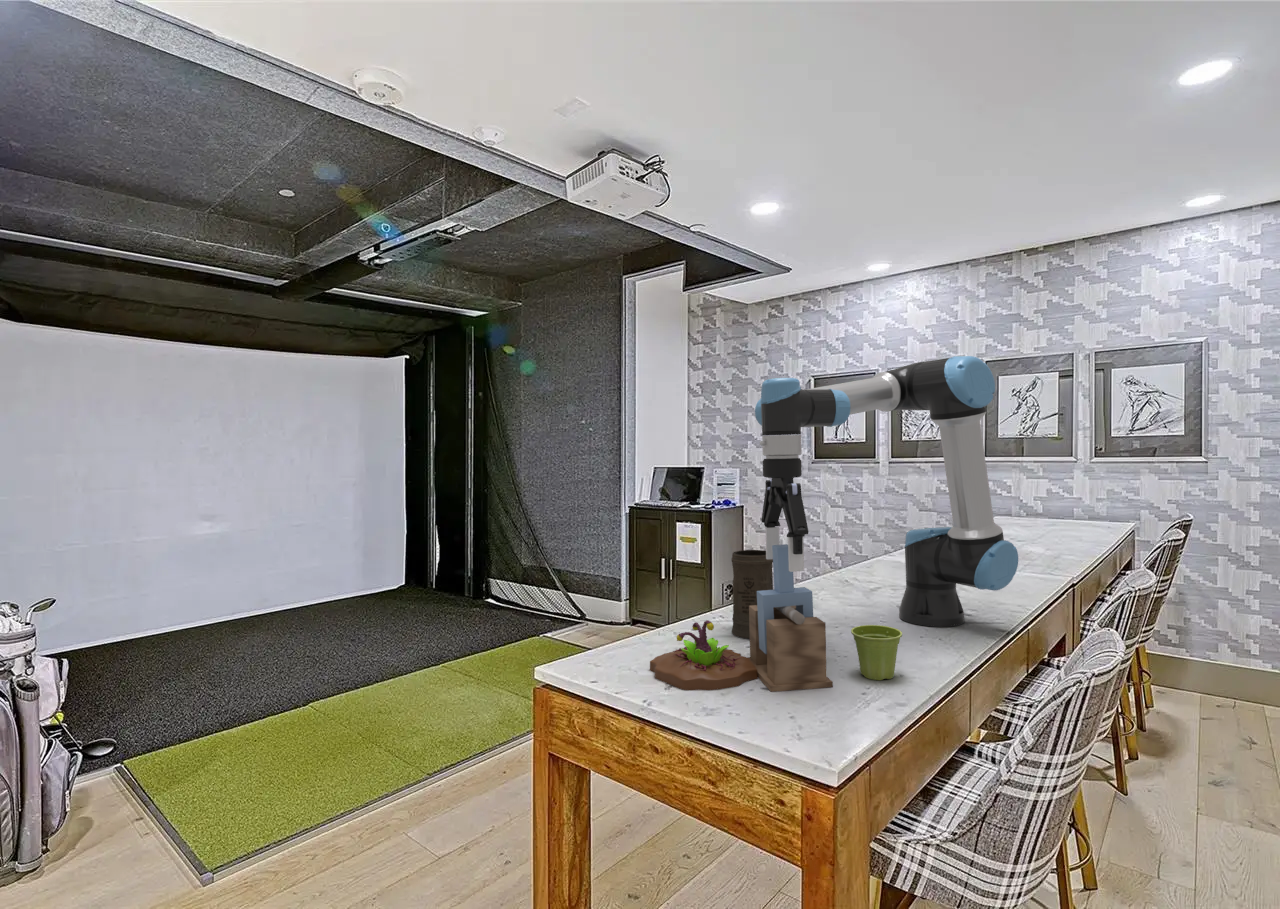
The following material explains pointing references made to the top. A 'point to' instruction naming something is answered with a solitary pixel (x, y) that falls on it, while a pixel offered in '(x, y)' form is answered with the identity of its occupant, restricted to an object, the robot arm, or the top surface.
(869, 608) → the top surface
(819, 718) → the top surface
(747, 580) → the beer stein
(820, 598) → the top surface
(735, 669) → the plant
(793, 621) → the stand
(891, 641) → the plant pot
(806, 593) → the light blue forked piece
